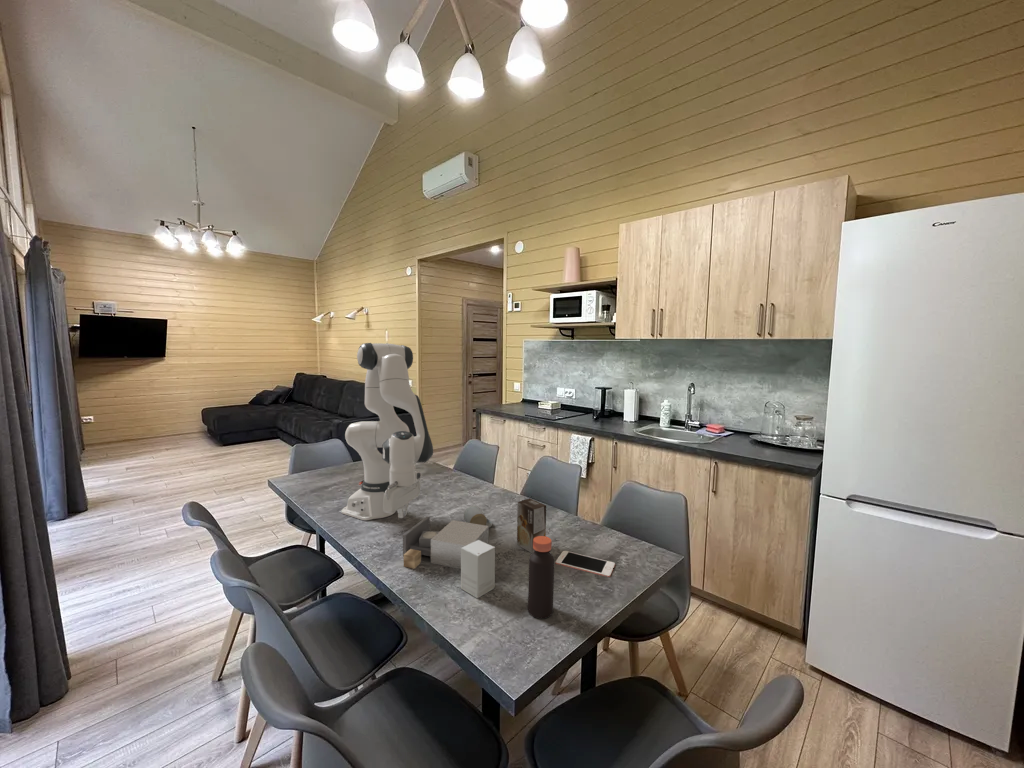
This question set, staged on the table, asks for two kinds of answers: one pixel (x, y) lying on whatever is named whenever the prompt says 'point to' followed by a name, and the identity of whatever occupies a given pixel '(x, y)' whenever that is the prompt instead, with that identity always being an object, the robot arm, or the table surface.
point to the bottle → (541, 578)
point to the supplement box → (477, 568)
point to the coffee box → (530, 522)
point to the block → (412, 558)
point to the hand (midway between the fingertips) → (402, 516)
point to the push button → (426, 538)
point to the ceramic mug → (476, 516)
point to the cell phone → (586, 563)
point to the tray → (416, 537)
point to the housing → (455, 542)
